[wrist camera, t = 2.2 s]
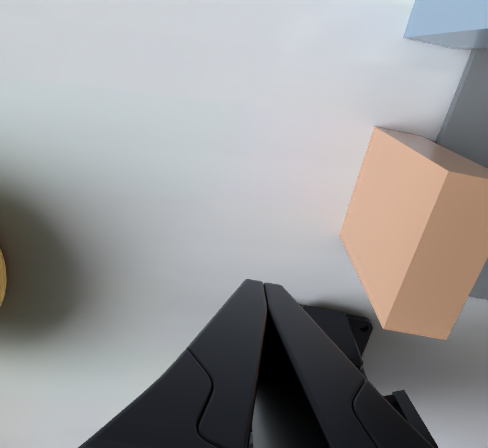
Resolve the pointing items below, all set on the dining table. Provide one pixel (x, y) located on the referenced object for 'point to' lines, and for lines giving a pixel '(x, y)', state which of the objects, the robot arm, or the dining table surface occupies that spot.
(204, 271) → the dining table surface
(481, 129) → the grey rectangular block
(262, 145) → the dining table surface
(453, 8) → the blue-grey picture frame
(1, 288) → the toy hamburger
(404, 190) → the tan upright block
